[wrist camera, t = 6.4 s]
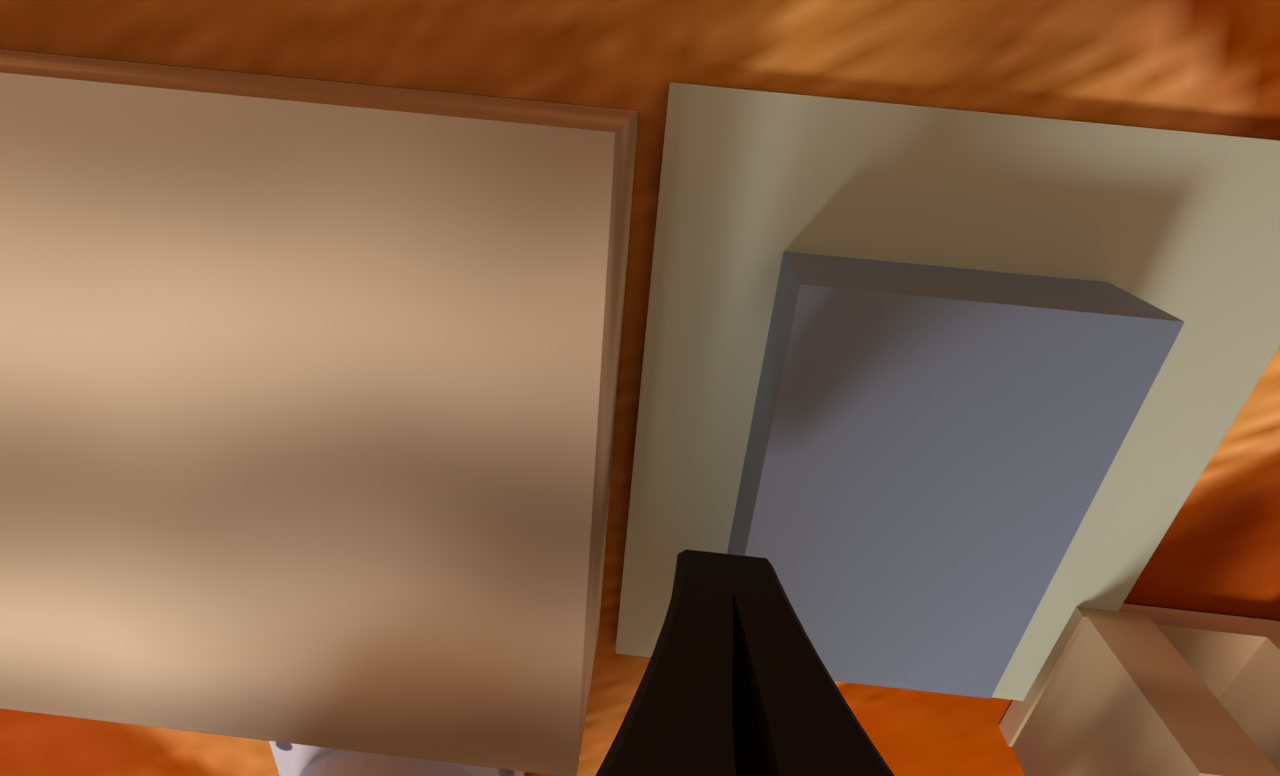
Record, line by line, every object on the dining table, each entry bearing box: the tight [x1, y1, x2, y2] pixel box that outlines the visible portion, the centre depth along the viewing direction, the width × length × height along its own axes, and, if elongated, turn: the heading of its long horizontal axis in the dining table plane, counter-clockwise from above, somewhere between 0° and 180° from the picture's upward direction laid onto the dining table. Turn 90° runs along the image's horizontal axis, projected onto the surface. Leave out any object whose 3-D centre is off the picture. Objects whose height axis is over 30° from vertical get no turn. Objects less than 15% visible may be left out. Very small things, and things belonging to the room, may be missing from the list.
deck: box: [0, 49, 639, 776], centre depth 12 cm, size 13×16×4 cm
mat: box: [615, 82, 1280, 701], centre depth 14 cm, size 14×12×1 cm
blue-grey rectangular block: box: [727, 251, 1185, 699], centre depth 13 cm, size 9×6×2 cm, turn 176°
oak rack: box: [999, 603, 1280, 776], centre depth 15 cm, size 5×6×4 cm
